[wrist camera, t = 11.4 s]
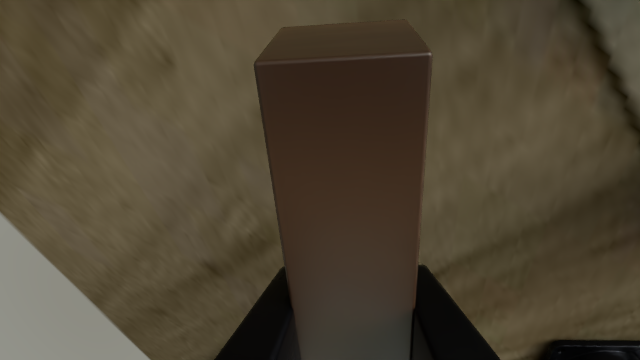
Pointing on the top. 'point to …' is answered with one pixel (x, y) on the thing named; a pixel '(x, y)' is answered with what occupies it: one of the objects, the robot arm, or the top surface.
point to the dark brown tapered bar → (348, 180)
